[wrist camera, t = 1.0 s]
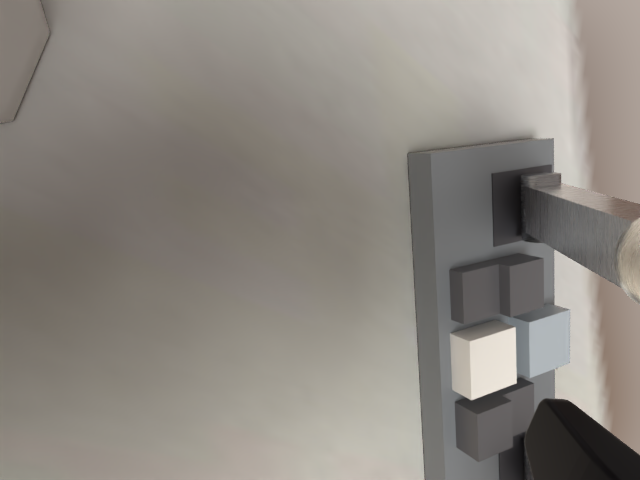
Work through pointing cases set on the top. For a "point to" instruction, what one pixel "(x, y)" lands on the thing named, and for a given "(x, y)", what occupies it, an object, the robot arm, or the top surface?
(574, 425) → the robot arm
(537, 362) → the panel
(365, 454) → the top surface
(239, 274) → the top surface
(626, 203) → the lever
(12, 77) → the flask
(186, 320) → the top surface
